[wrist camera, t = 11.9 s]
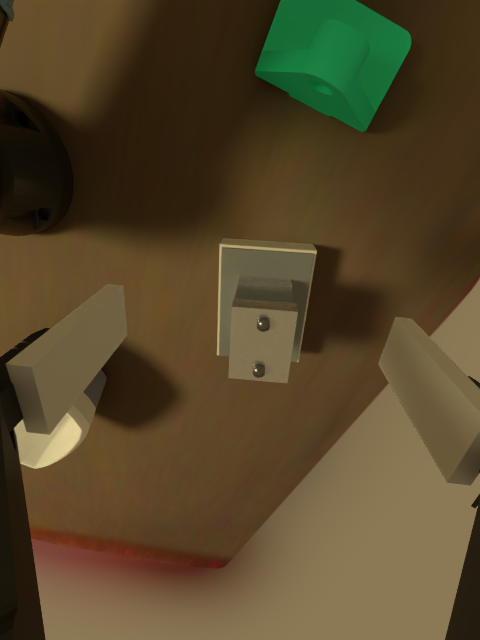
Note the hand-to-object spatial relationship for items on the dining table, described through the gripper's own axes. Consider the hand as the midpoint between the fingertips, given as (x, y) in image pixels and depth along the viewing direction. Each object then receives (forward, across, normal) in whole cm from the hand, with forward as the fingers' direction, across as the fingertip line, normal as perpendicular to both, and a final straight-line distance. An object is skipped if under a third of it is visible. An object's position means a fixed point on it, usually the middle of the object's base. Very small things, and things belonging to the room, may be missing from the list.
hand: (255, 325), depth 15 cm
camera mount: (+26, +5, +16) cm, 31 cm away
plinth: (+25, +2, -9) cm, 26 cm away
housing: (+21, +2, -9) cm, 23 cm away
